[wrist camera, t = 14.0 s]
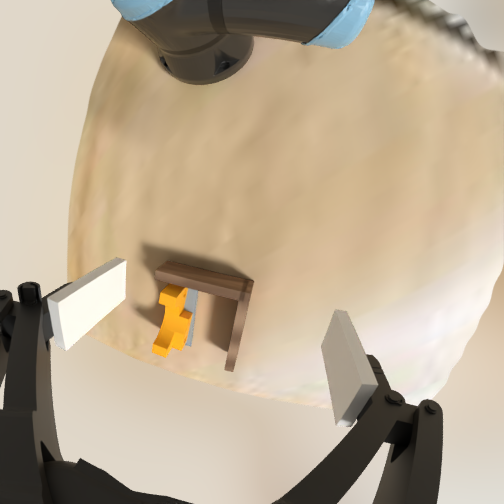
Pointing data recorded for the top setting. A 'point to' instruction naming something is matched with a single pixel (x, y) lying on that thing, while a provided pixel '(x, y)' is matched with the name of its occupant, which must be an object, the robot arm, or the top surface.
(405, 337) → the top surface
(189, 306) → the pad
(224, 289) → the brown wooden corner wall
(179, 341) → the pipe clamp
